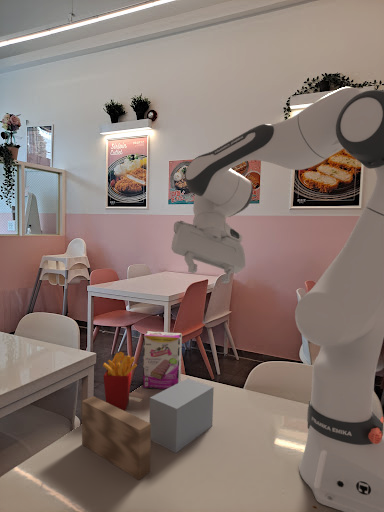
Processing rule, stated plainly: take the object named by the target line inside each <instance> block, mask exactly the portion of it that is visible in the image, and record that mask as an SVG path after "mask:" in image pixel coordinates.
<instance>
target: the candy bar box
mask: <svg viewBox="0 0 384 512" xmlns="http://www.w3.org/2000/svg"><path fill="white" fill-rule="evenodd" d="M182 338H183V334H182V333H180V332H166V331H164V332H163V331H154V330H153V331H151V330H147V331H146V332H145V333H144V335H143V350H142V351H143V352H142V353H143V355H142V357H143V359H142V361H143V362H142V368H143V369H142V388H144V389H145V388H146V389H148V388H149V389H150V388H151V389H161V390H166V389H168V388H170V387H172V386H174V385H176V384H177V383H179V382H181V381H182V380H181V378H182V376H181V375H182V374H181V372H182V371H181V370H182V369H181V368H182V347H183V345H182V344H183V343H182V342H183V341H182V340H183V339H182Z"/></svg>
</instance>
